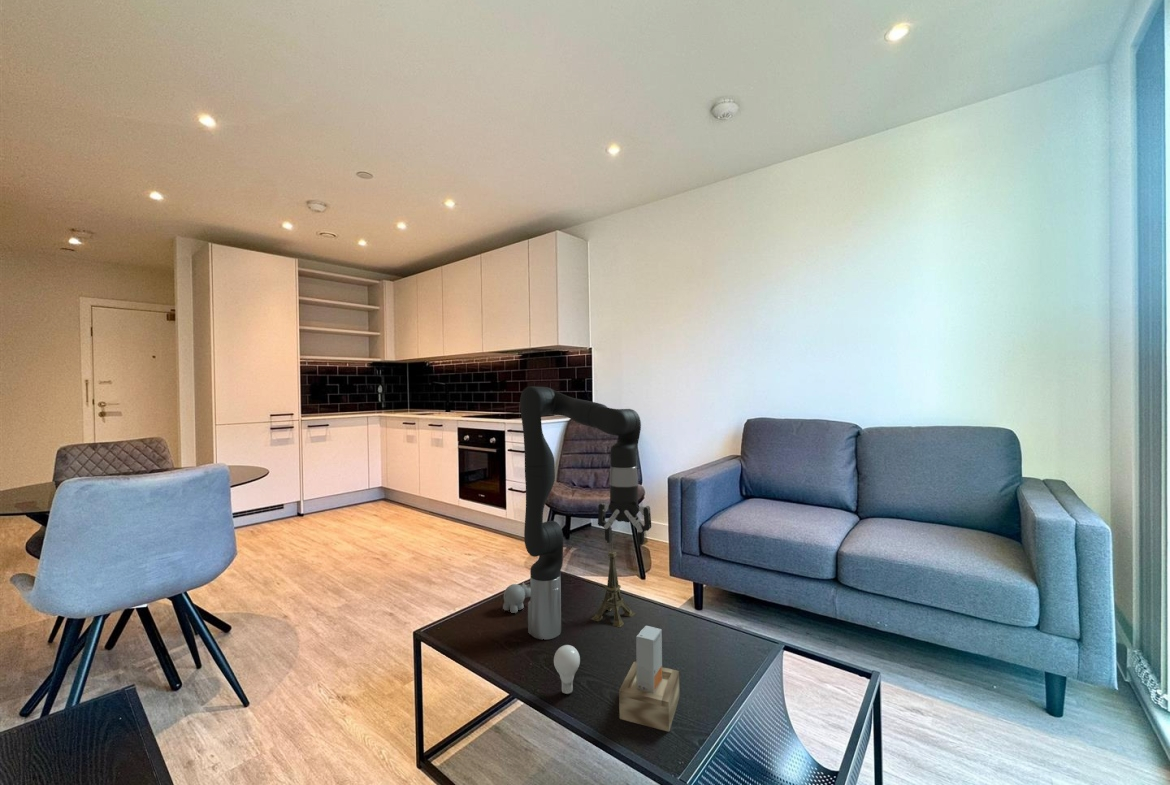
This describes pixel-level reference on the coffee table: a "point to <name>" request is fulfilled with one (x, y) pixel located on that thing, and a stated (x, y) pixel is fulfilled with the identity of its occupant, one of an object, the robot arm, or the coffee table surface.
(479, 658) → the coffee table surface
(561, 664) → the lightbulb
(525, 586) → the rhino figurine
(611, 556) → the eiffel tower
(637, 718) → the wooden box
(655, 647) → the skincare box
